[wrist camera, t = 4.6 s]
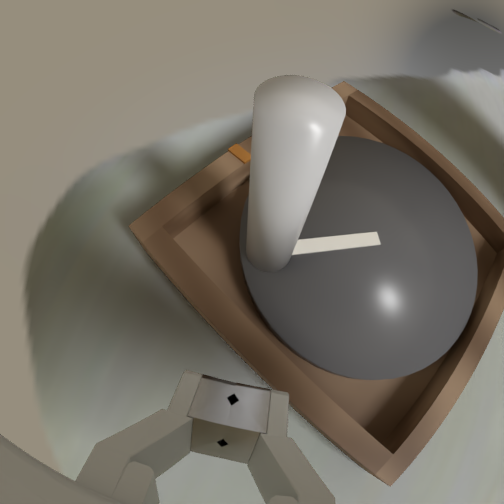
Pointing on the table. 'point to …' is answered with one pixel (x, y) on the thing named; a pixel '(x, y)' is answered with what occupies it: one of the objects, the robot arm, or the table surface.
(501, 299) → the dial housing
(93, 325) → the table surface
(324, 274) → the dial
